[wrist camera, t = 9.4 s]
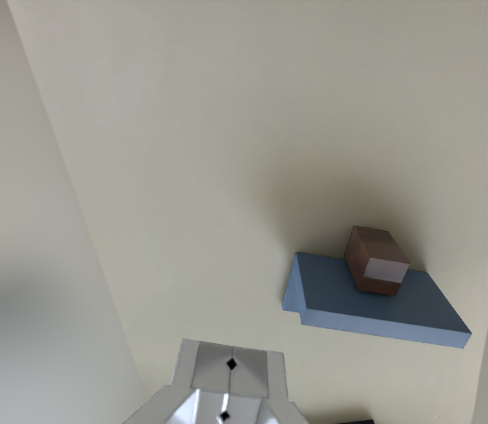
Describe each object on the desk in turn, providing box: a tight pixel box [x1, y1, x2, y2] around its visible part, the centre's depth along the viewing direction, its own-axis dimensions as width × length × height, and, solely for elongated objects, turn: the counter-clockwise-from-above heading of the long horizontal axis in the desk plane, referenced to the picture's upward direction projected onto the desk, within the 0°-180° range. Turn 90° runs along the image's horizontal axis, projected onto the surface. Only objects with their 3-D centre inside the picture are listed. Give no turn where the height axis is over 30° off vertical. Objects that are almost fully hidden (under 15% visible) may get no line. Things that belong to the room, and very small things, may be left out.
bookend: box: [282, 252, 472, 348], centre depth 41 cm, size 8×16×10 cm, turn 81°
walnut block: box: [344, 226, 410, 296], centre depth 39 cm, size 7×4×7 cm
